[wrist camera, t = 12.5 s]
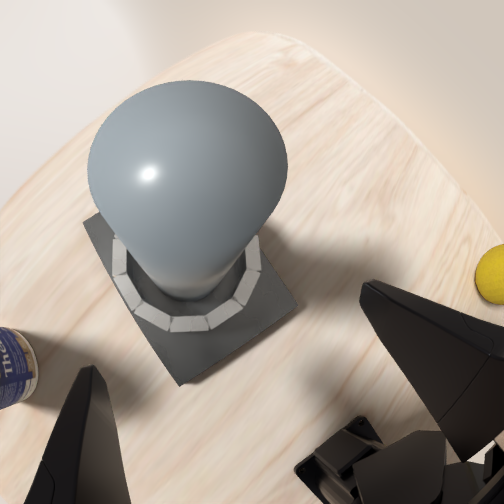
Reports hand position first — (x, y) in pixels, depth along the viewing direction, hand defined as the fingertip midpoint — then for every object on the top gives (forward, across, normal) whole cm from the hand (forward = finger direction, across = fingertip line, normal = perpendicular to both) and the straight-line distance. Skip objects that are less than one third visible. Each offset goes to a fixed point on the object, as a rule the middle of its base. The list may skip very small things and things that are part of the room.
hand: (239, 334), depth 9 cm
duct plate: (+11, 0, +5) cm, 12 cm away
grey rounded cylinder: (+10, 0, +4) cm, 10 cm away
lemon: (+4, -25, +11) cm, 28 cm away
